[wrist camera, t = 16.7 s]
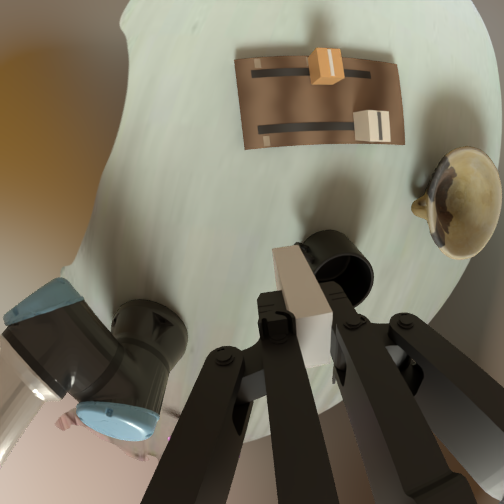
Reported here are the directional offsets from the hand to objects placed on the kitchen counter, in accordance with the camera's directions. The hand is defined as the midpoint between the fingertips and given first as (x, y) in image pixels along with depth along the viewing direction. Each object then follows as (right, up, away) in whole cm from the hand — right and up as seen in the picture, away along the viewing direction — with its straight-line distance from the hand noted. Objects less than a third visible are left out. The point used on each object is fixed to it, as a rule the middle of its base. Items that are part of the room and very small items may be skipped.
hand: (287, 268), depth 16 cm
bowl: (+31, +12, +23) cm, 40 cm away
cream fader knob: (+13, +18, +17) cm, 28 cm away
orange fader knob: (+7, +25, +14) cm, 29 cm away
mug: (+9, +1, +27) cm, 29 cm away
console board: (+8, +22, +18) cm, 30 cm away
